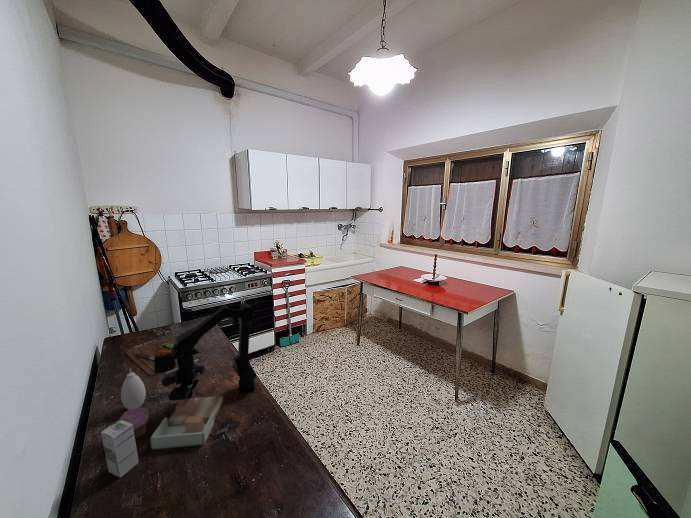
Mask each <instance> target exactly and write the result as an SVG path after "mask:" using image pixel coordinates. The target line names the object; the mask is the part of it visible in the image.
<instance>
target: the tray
mask: <svg viewBox="0 0 691 518" xmlns="http://www.w3.org/2000/svg"><path fill="white" fill-rule="evenodd" d="M214 425H215V420H214V415H213V413H212V414H211V416H210V418H209V420H208V422H207V423H204V429H203V431H202V432H198V433H186V431H185V425H179V426H169V425H168V417H167V416H165V417H164V418H163V419H162V421H161V422H160V423H159V425H158V426H157V428H156V429H155V431H154V432H153V434H152V435H151V436H150V438H149V439H150V445H151V450H152V451H153V450H161V449H172V448H184V447H192V446H193V447H194V446H203V445H204V446H205V445H206V443H207V440H208V438H209V437H210V434H211V431H212V429H213V428H214Z"/></svg>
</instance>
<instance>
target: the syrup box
mask: <svg viewBox="0 0 691 518" xmlns="http://www.w3.org/2000/svg"><path fill="white" fill-rule="evenodd" d="M100 434H101V435H100V436H101V439H102V445H103V451H104V456H105V462H106V466H107V467H106V468H107V471H108V473H110V474H112V475H113V476H116V477H117V478H122V477H123V476H125V474H127V473H128V472H130V470H133V468H134V467H136V466H137V465H138V464H139V456H138V450H137V449H138V448H137V444H136V439H135V437H134V431H133V425H132V424H131V423H128V422H125V421H123V420H117V421H116V422H114V423H112V424H111V425H110V426H108V427H106V428H105V429H104V430H103V431H101V432H100Z"/></svg>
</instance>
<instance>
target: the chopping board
mask: <svg viewBox="0 0 691 518" xmlns="http://www.w3.org/2000/svg"><path fill="white" fill-rule="evenodd" d="M178 336H179V335H169V336H167V337H165V338H163V337H162V338H163V339H160V338H159V339H160V340H157V339H154V340H151V341H148V342H145V343H141V344H139V345H135V346H134V347H132V348H130V349H128V350H126V351H125V355H126V356H128V357H129V359H131V361H133V362H134V363H135V364H136V365H137V366H138V368H140V369H141V370H142V371H144V372H145V373H146V374H147V375H148V376H149V377H153V376H159V375H161V374H162V373H160V374H156V375H155V370H154V356H157V355H164V354H168V353H171V349H172V347H173V346H174V345H175V341H176V339H174V338H173V337H175V338H177V337H178ZM170 337H171V338H170ZM167 338H168V339H167ZM164 339H165V340H164ZM155 340H157V341H155ZM152 341H154V342H152ZM149 342H150V343H149ZM146 343H147V344H146ZM143 344H144V345H143ZM194 347H195V348H197V349H198V351H199V353H200V354H199V353H198V354H195V355H194V363H197V362H198V361H199V359H200V358H202V357H203V356H204V355H205V352H204V351H203V350H201V349H200V348H198V347H196V345H195V346H194ZM201 356H202V357H201ZM199 357H200V358H199ZM175 364H176V367H174V369H173V370H171V371H168V372H164V374H165V375H167V374H169V373H171V372H173V371H176V370H178V363H177V359H175Z"/></svg>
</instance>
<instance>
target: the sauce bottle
mask: <svg viewBox="0 0 691 518" xmlns="http://www.w3.org/2000/svg"><path fill="white" fill-rule="evenodd" d="M146 393H147V392H146V387H145V384H144V382H143V380H142V379H141V378H140V376H138V375H137V374H136V373H135V372H132V369H131V368H129V373H128V374H126V377H125V379H124V381H123V383H122V387H121V390H120V399H121V403H122V404H123V406H124V408H125V409H127V410H130V409H132V408H141V407H142V405H143V404H144V402H145V401H146V400H145V399H146V397H147V396H146Z"/></svg>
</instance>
